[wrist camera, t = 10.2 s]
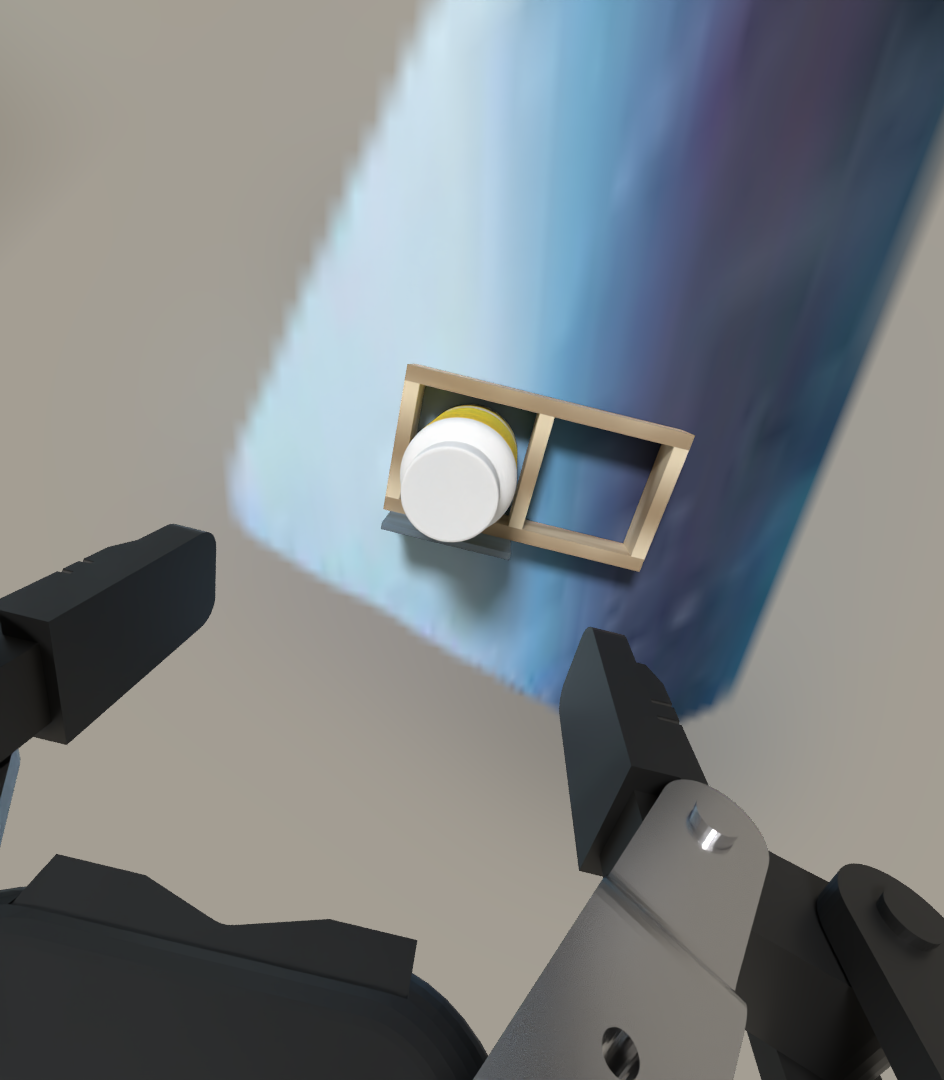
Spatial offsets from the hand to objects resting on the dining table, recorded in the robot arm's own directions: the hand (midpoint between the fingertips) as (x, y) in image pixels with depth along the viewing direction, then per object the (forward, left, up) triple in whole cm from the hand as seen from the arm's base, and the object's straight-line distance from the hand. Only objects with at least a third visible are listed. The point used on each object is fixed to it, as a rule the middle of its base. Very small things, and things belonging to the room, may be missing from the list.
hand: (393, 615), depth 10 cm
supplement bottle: (0, 0, -19) cm, 19 cm away
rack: (0, +4, -19) cm, 19 cm away
